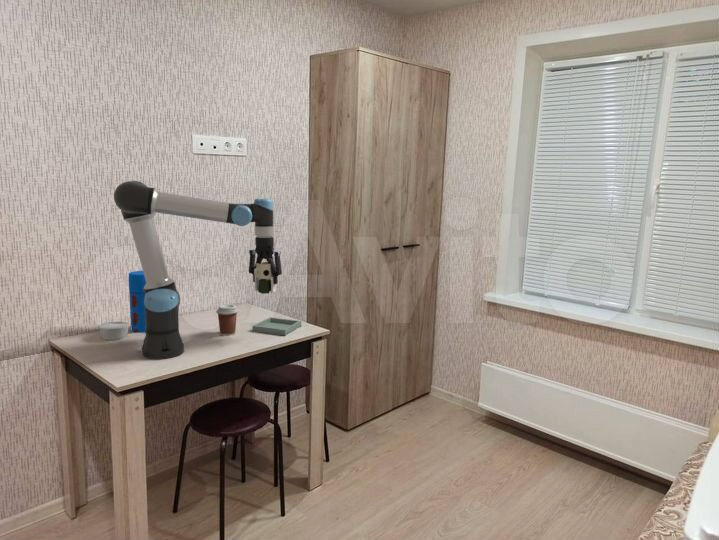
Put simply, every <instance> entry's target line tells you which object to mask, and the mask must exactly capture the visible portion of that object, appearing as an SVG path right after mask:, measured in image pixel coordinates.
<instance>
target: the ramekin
mask: <svg viewBox="0 0 719 540" xmlns="http://www.w3.org/2000/svg"><path fill="white" fill-rule="evenodd" d="M129 327H130V325H129V323H128V322H125V321H109V322H104V323H102V324H99V325H98V329H99V332H100V333H99V334H100V337H101V338H102V340H105V341H119V340H123V339H125V338H126V337H127V336H128V333H129Z"/></svg>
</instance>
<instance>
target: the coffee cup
mask: <svg viewBox="0 0 719 540" xmlns="http://www.w3.org/2000/svg"><path fill="white" fill-rule="evenodd" d="M236 306H237V305H235V304H222V305H219V306H218V308H217V309H216V311H215V313H216V314H217V318H218V326H219V335H220V336H225V337H227V336H233V335H236V328H237V314H238V312H239V309H238V308H237V307H236Z"/></svg>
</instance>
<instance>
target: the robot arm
mask: <svg viewBox="0 0 719 540" xmlns="http://www.w3.org/2000/svg"><path fill="white" fill-rule="evenodd" d="M113 200H114V203H115V205H116V207H117V208H118V209H119V210H121V215H122V218H123V220H124V222H127V223H128V224H129V227H130V230H131V231H130V232H131V233H132V237H133V241H134V244H135V248H136V252H137V255H138V259H139V262H140V264H141V268H142V271H143V272H144V276H145V279H146V285H145V286H144V291H145V294H146V295H145V299H144V305H145V323H146V332H145V336H144V339H143V343H142V346H141V356H143V357H144V358H147V359H152V360H161V359H163V360H164V359H170V358H174V357H177V356H178V357H179V356H180V355H182V354H184V353H185V344H184V342H183V340H182V339H183V338H182V336H181V334H180V325H179V324H180V323H179V308H180V304H181V296H180V295H181V294H180V293H179V291H178V290H177V286H176V281H175V279H173V278H171V277H170V276H169V272H168V270H167V265H166V262H165V261H166V260H165V257H164V255H163V250H162V247H161V243H160V240H159V236H158V233H157V229H156V225H155V222H154V217H155V215H156V213H158V214H164V215H171V216H177V217H185V218H191V219H198V220H204V221H211V222H218V223H226V224H231V225H236V226H239V227H244V226H247V225H249V224H250V223H254V235H255V239H254V240H255V241H254V242H255V243H254V244H255V248H254V249H250V250H248V252H249V265H248V274H252V282H253V283H254V292H255V291H256V292H258V286H259V280H260V279H259V278H257V276H254V269H255V268H256V263H258V264H261V262H263V260H266V262H268V264H270V265H271V272H272V275H273V276H272V277H271V291H270V293H271V292H272V293H275V292H276V291H277V285H278V283H279V280H278V277H279V276H281V275H282V274H283V271H282V264H281V262H282V261H281V257H280V256H281V250H275V248H274V246H275V244H274V243H275V238H274V237H273V236H274V202H273V200H272V199H271V198H255V199H254V201H253V203H230V202H223V201H218V200H211V199H206V198H205V199H204V198H201V197H193V196H187V195H186V196H185V195H180V194H175V193H168V192H161V191H158V189H156V188H154V187H149V186H148V185H146V184H145V183H143V182H141V181H139V180H129V181H128V180H127V181H124V182H122V183H120V184H119V185H117V187H116V188H115V190H114V193H113ZM256 255H257V256H256ZM273 256H274V257H273Z"/></svg>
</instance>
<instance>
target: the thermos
mask: <svg viewBox="0 0 719 540" xmlns="http://www.w3.org/2000/svg"><path fill="white" fill-rule="evenodd" d="M145 285H146V279H145V276H144V272H143V270H133V271H130V272H128V292H129V293H128V294H129V295H128V296H129V313H130V315H129V316H130V327H131V332H132V333H133V332H134V333H146V323H145V305H144V299H145V295H146V294H145V291H144V286H145Z"/></svg>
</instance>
